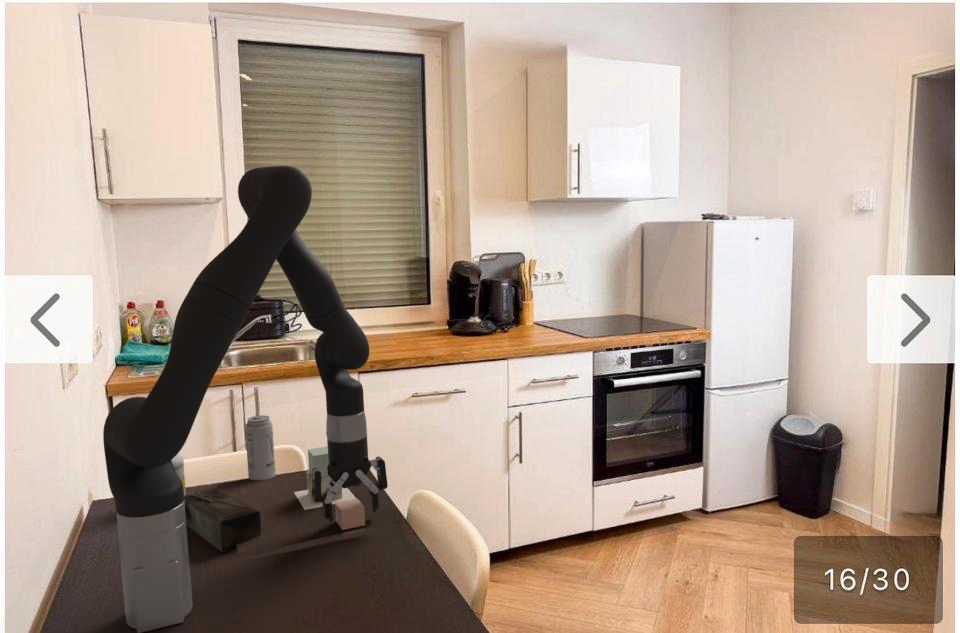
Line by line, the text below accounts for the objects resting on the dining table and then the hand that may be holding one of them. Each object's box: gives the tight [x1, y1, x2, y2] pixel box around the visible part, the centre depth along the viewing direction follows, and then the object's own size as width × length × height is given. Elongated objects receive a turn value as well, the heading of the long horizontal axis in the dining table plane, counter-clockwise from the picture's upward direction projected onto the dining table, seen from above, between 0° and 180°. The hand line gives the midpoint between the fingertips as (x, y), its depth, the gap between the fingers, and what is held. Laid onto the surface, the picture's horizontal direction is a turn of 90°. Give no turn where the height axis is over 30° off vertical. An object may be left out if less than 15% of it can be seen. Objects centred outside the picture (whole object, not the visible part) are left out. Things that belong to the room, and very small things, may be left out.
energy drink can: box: [245, 415, 276, 481], centre depth 160 cm, size 6×6×15 cm
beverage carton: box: [184, 487, 262, 554], centre depth 133 cm, size 8×19×7 cm, turn 43°
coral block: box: [334, 498, 366, 537], centre depth 133 cm, size 4×4×5 cm
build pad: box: [293, 487, 357, 511], centre depth 147 cm, size 11×11×1 cm
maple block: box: [306, 470, 342, 503], centre depth 147 cm, size 6×6×5 cm
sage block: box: [307, 445, 329, 477], centre depth 146 cm, size 5×5×5 cm
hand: (351, 515), depth 133 cm, fingers open, 8 cm apart
